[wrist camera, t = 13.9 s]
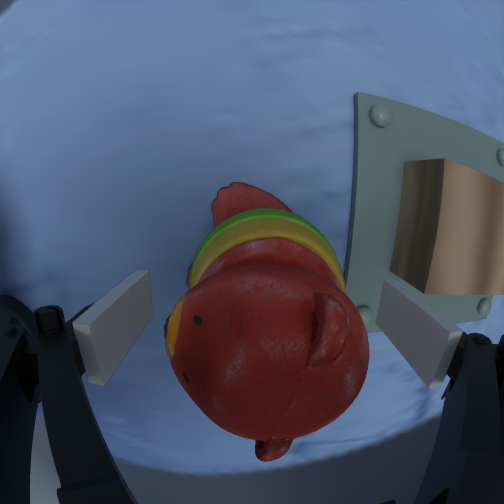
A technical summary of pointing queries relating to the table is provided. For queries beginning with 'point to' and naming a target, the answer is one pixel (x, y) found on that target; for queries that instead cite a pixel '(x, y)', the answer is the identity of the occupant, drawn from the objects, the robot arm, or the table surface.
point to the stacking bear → (266, 325)
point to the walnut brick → (450, 230)
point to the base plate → (389, 195)
